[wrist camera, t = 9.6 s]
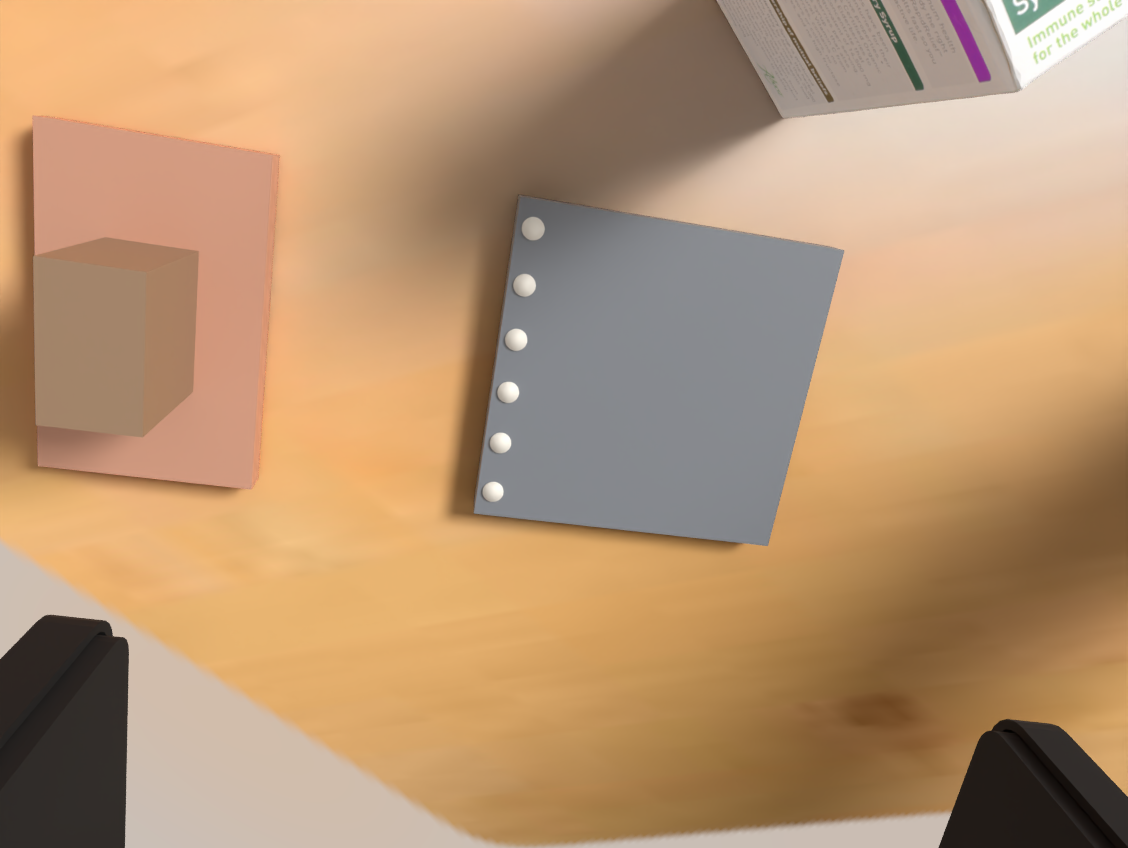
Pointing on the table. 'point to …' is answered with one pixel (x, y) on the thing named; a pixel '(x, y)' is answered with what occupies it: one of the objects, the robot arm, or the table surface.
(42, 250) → the pink slab with block
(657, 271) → the grey dotted square slab
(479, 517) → the table surface
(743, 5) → the syrup box
